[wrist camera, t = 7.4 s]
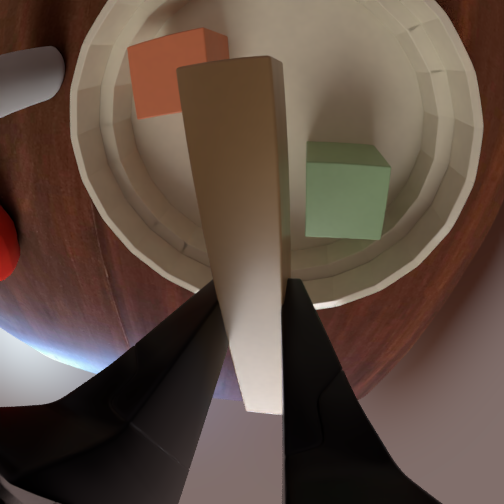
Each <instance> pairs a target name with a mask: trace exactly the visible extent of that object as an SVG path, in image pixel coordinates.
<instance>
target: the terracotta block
mask: <svg viewBox="0 0 504 504" xmlns="http://www.w3.org/2000/svg"><path fill="white" fill-rule="evenodd" d="M127 51H128V60H129V68H130V76H131V83H132V90H133V96H134V102H135V109H136V114H137V119H138V120H140V119H145V118H151V117H156V116H162V115H168V114H174V113H181V112H182V109H181V103H180V96H179V88H178V81H177V73H176V69H177V68H178V67H182V66H187V65H193V64H198V63H204V62H210V61H217V60H224V59H230V58H229V47H228V37H227V36H225V35H223V34H220V33H217V32H215V31H212V30H209V29H207V28H204V27H201V28H196V29H191V30H187V31H182V32H178V33H174V34H170V35H166V36H162V37H158V38H155V39H151V40H148V41H145V42H141V43H138V44H135V45H132V46H129V47H128V48H127Z"/></svg>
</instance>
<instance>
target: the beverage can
mask: <svg viewBox="0 0 504 504" xmlns="http://www.w3.org/2000/svg"><path fill="white" fill-rule="evenodd" d="M64 75H65V64H64V60H63V57H62V55H61V54H60V52H59V51H58V50H57V49H56V48H55V47H52V46H46V47H39V48H32V49H26V50H21V51H16V52H11V53H7V54H2V55H0V118H1V117H3V116H6V115H8V114H10V113H13V112H15V111H18V110H20V109H23V108H26V107H28V106H31V105H34V104H37V103H40V102H42V101H45V100H49V99H50V98H52V97H53V96H54V95H55V94H56V93H57V91H58V90H59V88H60V86H61V84H62V82H63V79H64Z"/></svg>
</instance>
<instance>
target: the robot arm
mask: <svg viewBox="0 0 504 504" xmlns="http://www.w3.org/2000/svg"><path fill="white" fill-rule="evenodd" d="M228 344H229V342H228V338H227V334H226V330H225V326H224V322H223V318H222V313H221V309H220V305H219V301H218V299H217V295H216V291H215V286H214V282H213V279H212V280H211V281H210V282H209V283H207V284H206V285H205V286H204V287H203V288H202V289H200V290H199V291H198V292H197V293H196V294H194V295H193V296H192V297H191V298H190V299H188V300H187V301H186V302H185V303H184V304H182V305H181V306H180V307H179V308H178V309H177V310H175V311H174V312H173V313H172V314H171V315H169V316H168V317H167V318H166V319H165V320H163V321H162V322H161V323H160V324H159V325H158V326H156V327H155V328H154V329H153V330H152V331H150V332H149V333H148V334H147V335H146V336H144V337H143V338H142V339H141V340H140V341H139V342H137V343H136V344H135V346H132V347H131V348H130V349H129V350H128V351H127V352H125V353H124V354H123V355H122V356H120V357H119V358H118V359H117V360H116V361H114V362H113V363H112V364H111V365H109V366H108V367H106V368H105V369H104V370H102V371H101V372H99V373H98V374H97V375H95V376H94V377H92V378H91V379H89V380H88V381H87V382H85V383H84V384H82V385H81V386H79V387H78V388H76V389H75V390H74V391H72V392H70V393H69V394H68V395H66V396H64V397H63V398H61V399H59V400H57V401H55V402H52V403H49V404H43V405H32V406H16V407H0V504H178V503H179V500H180V497H181V494H182V491H183V487H184V485H185V481H186V478H187V475H188V472H189V468H190V465H191V462H192V459H193V456H194V453H195V450H196V447H197V444H198V440H199V437H200V434H201V431H202V428H203V425H204V422H205V418H206V416H207V412H208V409H209V406H210V403H211V400H212V397H213V394H214V390H215V387H216V384H217V381H218V378H219V375H220V371H221V368H222V365H223V362H224V359H225V356H226V352H227V349H228ZM281 355H282V418H283V473H282V475H283V476H282V477H283V479H282V484H283V485H282V504H442V503H441V502H439V501H438V500H436V499H435V498H434V497H433V496H431V495H430V494H428V493H427V492H426V491H425V490H423V489H422V488H421V487H420V486H418V485H417V484H416V483H414V482H413V481H412V480H411V479H409V478H408V477H407V476H406V475H405V474H404V473H403V472H402V471H401V469H400V468H399V467H398V466H397V464H396V463H395V462H394V460H393V459H392V457H391V456H390V454H389V452H388V451H387V449H386V447H385V446H384V444H383V442H382V441H381V439H380V438H379V436H378V434H377V433H376V431H375V429H374V428H373V426H372V425H371V423H370V421H369V420H368V418H367V416H366V414H365V413H364V411H363V409H362V407H361V406H360V404H359V402H358V400H357V398H356V396H355V394H354V392H353V390H352V388H351V386H350V384H349V382H348V379H347V377H346V375H345V373H344V371H343V370H342V366H341V364H340V362H339V360H338V357H337V355H336V353H335V351H334V348H333V346H332V344H331V342H330V340H329V337H328V335H327V333H326V331H325V329H324V327H323V324H322V322H321V320H320V318H319V316H318V314H317V312H316V309H315V307H314V305H313V303H312V301H311V299H310V297H309V295H308V293H307V290H306V288H305V286H304V284H303V282H302V280H301V279H299V278H288V280H287V286H286V293H285V299H284V304H283V305H282V306H281Z"/></svg>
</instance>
